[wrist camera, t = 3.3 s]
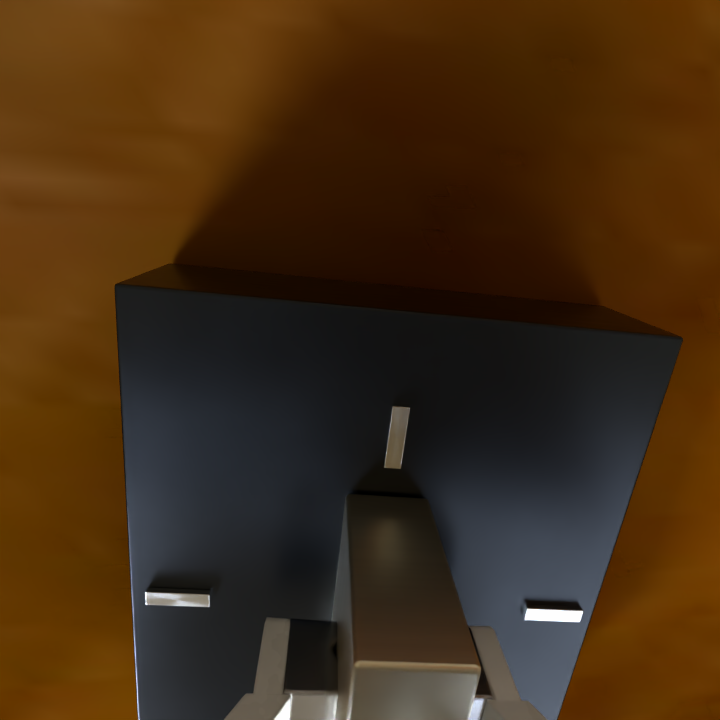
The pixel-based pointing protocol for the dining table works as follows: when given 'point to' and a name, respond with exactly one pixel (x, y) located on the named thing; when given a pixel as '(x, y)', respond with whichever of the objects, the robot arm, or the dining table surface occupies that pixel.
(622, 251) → the dining table surface
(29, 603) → the dining table surface
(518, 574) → the rod panel
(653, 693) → the dining table surface
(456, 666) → the turn handle
